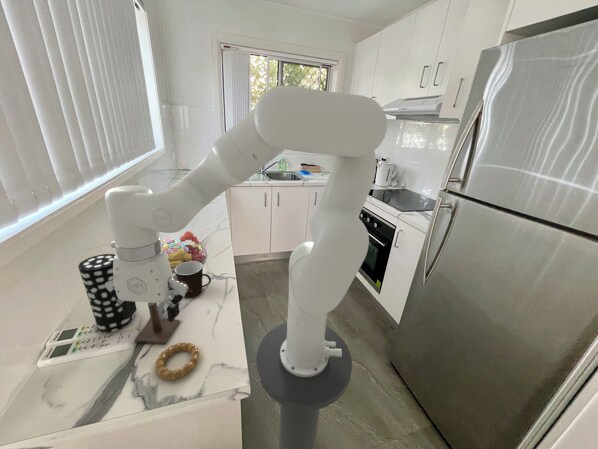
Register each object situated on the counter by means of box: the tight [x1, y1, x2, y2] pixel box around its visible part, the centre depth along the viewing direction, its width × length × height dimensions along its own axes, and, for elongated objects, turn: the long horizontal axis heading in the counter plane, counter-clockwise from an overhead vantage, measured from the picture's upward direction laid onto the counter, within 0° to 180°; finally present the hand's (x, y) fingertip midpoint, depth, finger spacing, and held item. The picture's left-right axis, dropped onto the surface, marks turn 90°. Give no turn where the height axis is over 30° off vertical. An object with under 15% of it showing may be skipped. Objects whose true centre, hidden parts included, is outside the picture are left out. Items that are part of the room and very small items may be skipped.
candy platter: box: [161, 230, 205, 272], centre depth 104 cm, size 25×24×9 cm
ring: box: [154, 342, 201, 381], centre depth 59 cm, size 10×10×2 cm
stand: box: [133, 302, 180, 345], centre depth 66 cm, size 8×8×10 cm
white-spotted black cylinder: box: [77, 253, 134, 333], centre depth 67 cm, size 8×8×20 cm
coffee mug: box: [174, 261, 212, 299], centre depth 82 cm, size 12×9×10 cm
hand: (152, 316), depth 55 cm, fingers open, 9 cm apart
